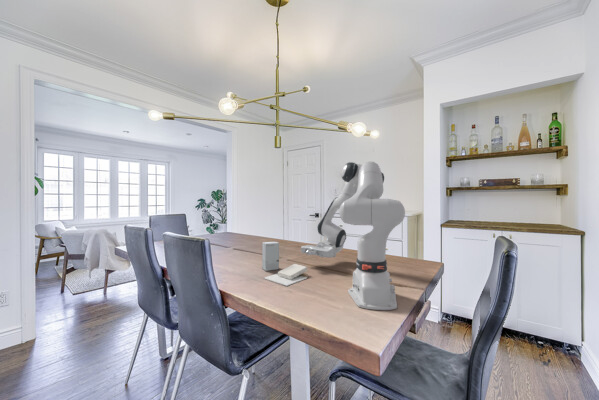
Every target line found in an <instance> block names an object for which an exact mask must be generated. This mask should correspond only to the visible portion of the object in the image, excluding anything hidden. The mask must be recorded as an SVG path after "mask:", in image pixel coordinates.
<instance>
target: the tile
mask: <svg viewBox="0 0 599 400" xmlns="http://www.w3.org/2000/svg"><path fill="white" fill-rule="evenodd" d="M307 271H308V267H307V266H304V265H301V264H297V263H293V264H291V265H289V266H287V267H285V268H283V269H281V270H279V271H277V273H278V276H280V277H283V278H286V279H290V280H291V279H293V278H295V277H297V276H299V275H300V274H302V273H306V272H307Z"/></svg>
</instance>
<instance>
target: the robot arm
mask: <svg viewBox="0 0 599 400" xmlns="http://www.w3.org/2000/svg"><path fill="white" fill-rule="evenodd" d="M341 179H342V180H343V181H344V182H345V184H344V186H343V188H342V191H341V192H340V195H338V196H336V197H335V198H334V199H332V201H331V203H330V204H329V206H328V208H327V210H326V212H325V214H324V215H323V217H322V218H321V220H320V222H318V224H317V232H318V234H319V235H321V236H322V237H324V238H326V239H327V240H324V241H319V242H317V243H316V245H314V244H313V245H312V244H308V245H307V244H306V245H301V246H300V252H301V253H302V254H306V256H318V257H320V258H336V255H337V254H338V253H339V252H341V251H342V250H343V248H344V244H345V242H346V240H347V233H346V230H345V229H343V228H342V227H340V226H339V225H337V224H335V223H334V222H333V221H332V220H333V218H334V216H335V214H336V213H337V211H339V212H338V213H339V218H340V219H341V222H343V223H344V224H347V225H352V226H372V230H371V231H369V232H367V233H365V234H363V235H361V236H360V237H359V238H358V240H357V257H356V263H355V264H356V268H355V270H354V271H353V272H352V287H350V288H349V289H347V292H348V294H349V296H350V297H351V298H352V300H353V301H354V303H355V305H356V306H357V307H359V308H363V309H367V310H373V311H374V310H376V311H390V310H392V311H393V310H397V309H398V304H397V295H396V291H395V290H396V288H395V284H391V283H392V282H393V278H390V277H391V276H390V272H389V271H388V263H387V259H386V250H387V248H386V247H387V240H388V238H389V236H390V234H391V233H392V231H393V230H394V229H395V228H396V227H398V226H399V225H401V223H402V222H403V221H404V219H405V216H406V209H405V206H404V204H403V203H402V202H401V201H400V200H397V199H393V198H381V197H382V195H384V181H385V174H384V173H383V172H382V171H381V168H380V166H379V164H378V163H376V162H374V161H366V162H363V164H360V163H356V162H353V161H352V162H351V161H349V162H347V163H345V165H344V166H343V168H342V170H341Z"/></svg>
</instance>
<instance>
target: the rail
mask: <svg viewBox="0 0 599 400" xmlns="http://www.w3.org/2000/svg"><path fill="white" fill-rule="evenodd" d="M299 276H303V277H306V278H308V277H309V274H308V273H306V272H304V273H302V274H300V275H299Z"/></svg>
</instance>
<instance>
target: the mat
mask: <svg viewBox="0 0 599 400" xmlns="http://www.w3.org/2000/svg"><path fill="white" fill-rule="evenodd" d="M307 278H308V277H307ZM307 278H306V277H303V276H297V277H295V278H293V279H291V280H290V279H286V278H283V277H280V276H278V272H276V273H275V274H272V275H268V276H264V277H263V280H267V281H269V282H273V283H276V284H278V285H282V286H285V287H288V286H291V285H294V284H297V283H299V282H302V281H304V280H307Z"/></svg>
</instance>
